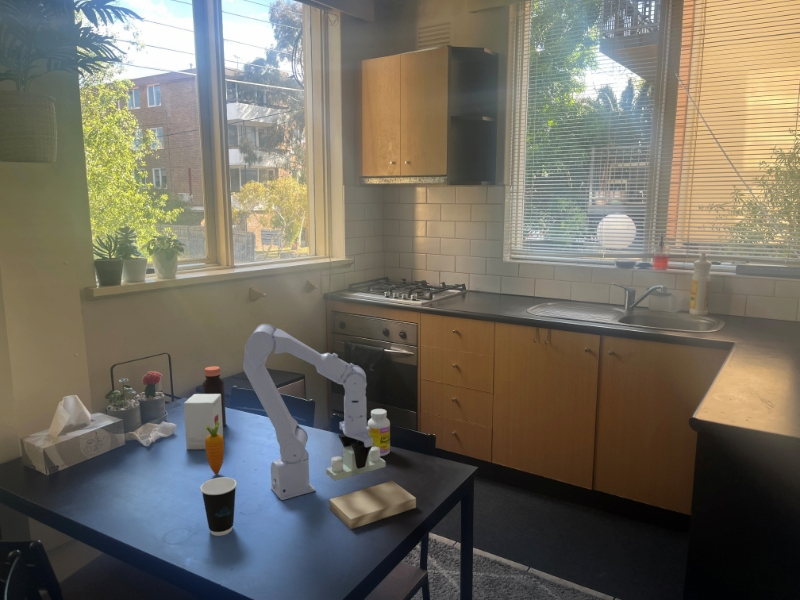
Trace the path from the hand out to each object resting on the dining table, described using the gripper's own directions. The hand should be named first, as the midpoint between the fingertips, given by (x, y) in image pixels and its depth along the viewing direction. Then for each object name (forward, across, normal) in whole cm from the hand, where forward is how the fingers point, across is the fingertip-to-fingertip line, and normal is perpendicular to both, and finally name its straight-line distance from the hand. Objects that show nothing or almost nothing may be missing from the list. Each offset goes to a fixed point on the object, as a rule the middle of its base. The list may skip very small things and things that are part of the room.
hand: (356, 463), depth 155 cm
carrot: (+7, +27, +29) cm, 40 cm away
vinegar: (+7, +64, +19) cm, 68 cm away
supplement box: (+7, +50, +26) cm, 57 cm away
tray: (+2, 0, 0) cm, 2 cm away
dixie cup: (+7, -2, +36) cm, 37 cm away
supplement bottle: (+7, +15, -16) cm, 23 cm away
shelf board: (+6, -12, +2) cm, 14 cm away
